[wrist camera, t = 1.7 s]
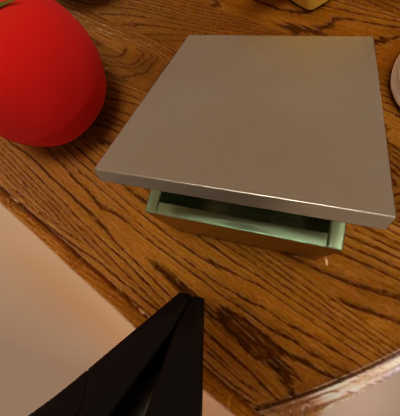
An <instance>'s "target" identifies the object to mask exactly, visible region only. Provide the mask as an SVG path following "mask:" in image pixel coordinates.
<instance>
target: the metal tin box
mask: <svg viewBox="0 0 400 416" xmlns="http://www.w3.org/2000/svg"><path fill="white" fill-rule="evenodd" d="M145 212H147V213H148V214H150V215H152V216H154V217H155V218H157V219H159V220H160V221H162V222H164V223H166V224H167V225H169V226H171V227H172V228H174V229H176V230H178V231H181V232H186V233H190V234H195V235H200V236H205V237H209V238H214V239H219V240H224V241H228V242H233V243H238V244H243V245H247V246H252V247H257V248H262V249H266V250H271V251H276V252H281V253H285V254H290V255H295V256H300V257H304V258H309V259H314V260H316V259H319V258H322V257H325V256H328V255H330V254H333V253H336V252H339V251H342V250H343V245H344V237H345V229H346V223H344V222H338V221H332V220H327V219H321V218H315V217H309V216H303V215H298V214H292V213H286V212H280V211H274V210H269V209H263V208H257V207H251V206H245V205H240V204H234V203H228V202H222V201H216V200H211V199H205V198H199V197H193V196H187V195H182V194H176V193H170V192H164V191H158V190H153V189H151V191H150V194H149V198H148V202H147V205H146V209H145Z"/></svg>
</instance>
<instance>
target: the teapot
mask: <svg viewBox="0 0 400 416" xmlns="http://www.w3.org/2000/svg"><path fill="white" fill-rule="evenodd" d="M291 1H293V2H295V3H296V4H298V5H299V6H301V7H303V8H305V9H307V10H313V9H315V8H317V7H319V6H321V5H322V4H324V3H325V2H327V1H328V0H291Z"/></svg>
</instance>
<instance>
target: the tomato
mask: <svg viewBox="0 0 400 416" xmlns="http://www.w3.org/2000/svg"><path fill="white" fill-rule="evenodd" d="M105 96H106V77H105V73H104V69H103V65H102V61H101V58H100V56H99V53H98V50H97V48H96V47H95V45H94V43H93V42H92V40H91V38H90V37H89V35H88V33H87V32H86V30H85V29H84V27H83V26H82V25H81V24H80V23H79V22H78V21H77V20H76V19H75V18H74V17H73V16H72V15H71V14H70V13H69V12H68V10H67V9H65V8H64V7H63V6H62V5H60V4H59V3H58V2H56V1H55V0H0V136H1V137H3V138H5V139H8V140H11V141H13V142H16V143H20V144H25V145H30V146H37V147H50V146H59V145H63V144H66V143H69V142H71V141H72V140H74V139H76V138H77V137H79V136H80V135H81V134H82V133H84V132H85V131H86V130H87V129H88V128H89V127H90V126H91V125H92V123H93V122H94V121H95V119H96V118H97V116H98V115H99V113H100V111H101V109H102V107H103V105H104V100H105Z"/></svg>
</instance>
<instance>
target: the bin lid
mask: <svg viewBox="0 0 400 416" xmlns="http://www.w3.org/2000/svg"><path fill="white" fill-rule="evenodd" d="M94 170H95V172H96V173H97V175H98V177H99V178H100V180H101V181H106V182H112V183H118V184H124V185H129V186H135V187H141V188H147V189H153V190H158V191H164V192H170V193H176V194H182V195H187V196H193V197H199V198H205V199H211V200H216V201H222V202H228V203H234V204H240V205H245V206H251V207H257V208H263V209H269V210H274V211H280V212H286V213H292V214H298V215H303V216H309V217H315V218H321V219H327V220H332V221H338V222H344V223H350V224H356V225H361V226H367V227H373V228H379V229H387V227H388V226H389V225H390V224H391V223H392V222H393V220H394V219H395V218H396V214H395V206H394V198H393V190H392V182H391V174H390V166H389V158H388V150H387V142H386V134H385V126H384V118H383V110H382V102H381V94H380V86H379V78H378V70H377V62H376V54H375V46H374V38H373V36H238V35H189V36H188V37H187V38H186V40H185V41H184V43H183V44H182V45H181V47H180V48H179V50H178V51H177V52H176V54H175V55H174V57H173V58H172V60H171V61H170V62H169V64H168V65H167V67H166V68H165V69H164V71H163V72H162V74H161V75H160V76H159V78H158V79H157V81H156V82H155V84H154V85H153V86H152V88H151V89H150V91H149V92H148V93H147V95H146V96H145V98H144V99H143V100H142V102H141V103H140V105H139V106H138V107H137V109H136V110H135V112H134V113H133V115H132V116H131V117H130V119H129V120H128V122H127V123H126V124H125V126H124V127H123V129H122V130H121V131H120V133H119V134H118V136H117V137H116V139H115V140H114V141H113V143H112V144H111V146H110V147H109V148H108V150H107V151H106V153H105V154H104V155H103V157H102V158H101V160H100V161H99V162H98V164H97V165H96V167H95V168H94Z"/></svg>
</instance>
